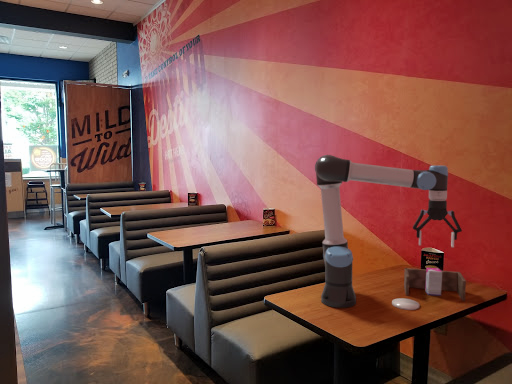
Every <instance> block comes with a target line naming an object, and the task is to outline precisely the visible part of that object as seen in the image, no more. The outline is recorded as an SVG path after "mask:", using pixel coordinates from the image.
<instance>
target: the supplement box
mask: <svg viewBox="0 0 512 384" xmlns="http://www.w3.org/2000/svg"><path fill="white" fill-rule="evenodd" d="M425 270H426V287H425V289H424V290H425V293H426V294H427V296H436V297H438V296H439V297H441V296H442V290H441V285H442V271H443V270H441V269H440V268H437V267H433V268H432V267H426V269H425Z"/></svg>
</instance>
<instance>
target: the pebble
mask: <svg viewBox="0 0 512 384" xmlns="http://www.w3.org/2000/svg"><path fill="white" fill-rule="evenodd" d="M391 305H392V306H393V307H395V308H397V309H400V310H407V311H414V310H418V309H420V303H419V302H418V301H416V300H413V299H410V298H394V299H392V301H391Z"/></svg>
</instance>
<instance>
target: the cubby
mask: <svg viewBox="0 0 512 384" xmlns="http://www.w3.org/2000/svg"><path fill="white" fill-rule="evenodd" d="M441 271H442V285H441V291H451V292H457V294H458V296H459V298H460V300H461V301H464V302H465V301H466V289H467V288H466V285H467V280H466V279H465V278H464V276H463V274H462V273H461V271H448V270H441ZM403 275H404V278H403V279H404V282H403V283H404V285H403V287H404V293H405V296H407V297H408V296H409V294H410V293H409V292H410V291H409V290H410V289H409V288H413V287H414V288H415V289H424V290H425V287H426V269H420V268H408V267H407V268H406V267H404V274H403ZM414 288H413V289H414Z"/></svg>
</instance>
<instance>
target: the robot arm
mask: <svg viewBox="0 0 512 384" xmlns="http://www.w3.org/2000/svg"><path fill="white" fill-rule="evenodd" d="M448 169H449V168H448V166H447V165H430V166H429V168H428V169H425V170H424V169H422V170H421V169H410V168H409V169H408V168H399V167H390V166H383V165H374V164H367V163H357V162H353V161H352V160H350V159H345V158H340V157H337V156H335V155H331V154H326V155H322V156H320V157H319V158H318V159H317V160H316V162H315V164H314V171H315V176H316V178H315V179H316V186H317V187H318V188H320V194H321V197H320V198H321V204H322V205H321V206H322V215H323V216H322V217H323V227H324V237H325V238H324V239H323V240H322V250H323V253H322V257H323V261H324V267H325V268H324V269H325V271H324V273H325V274H324V275H325V276H324V277H325V278H324V279H325V280H324V281H325V283H324V287H323V290H322V292H321V295H320V298H321V299H320V301H321V303H322V304H324V305H325V306H328V307H331V308H338V309H341V308H343V309H346V308H351V307H353V306H355V305H356V304H357V297H356V293H355V290H354V286H353V262H354V261H353V260H354V256H353V252H352V250H351V249H350V248H349V246H348V245H349V244H348V243H349V242H348V240H347V238H345V237H344V235H345V234H344V226H343V225H344V224H343V213H342V202H341V191H340V190H341V189H340V187H341V185H342V184H343V183H348V182H350V181H355V182H361V183H370V184H378V185H379V184H380V185H388V186H394V187H395V186H396V187H402V188H403V187H404V188H410V189H418V190H419V189H420V190H421V191H428V206H427V207H428V208H427V210H425V209H420V213H419V215H418V216H417V219H416V221H415V222H414V224H413V225H412V229H413V230H414V231H416V238H417V239H418V246H422V230H423V228H424V227H425V226H426V225H427V224H428V223H429V222H430V221H444V222H445V223H446V225H447V226H448V227H449V228H450V229H451V230H452V231H451V237H450V241H451V242H450V246H451V248H455V241H457V240H458V234H459V233H461V232H462V231H463V229H462V227H461V226H460V224H459V222H458V220H457V218H456V216H455V211H454V210H448V208H447V207H448V206H447V204H448V200H447V199H448V184H449V183H448V182H449V181H448V180H449V179H448V178H449V170H448ZM426 214H427V215H428V216H427V217H426V218H425V220H424V221H423V222H422V223H420V222H421V221H422V218H423V217H424V216H425V215H426ZM447 215H449V216H450V217H451V219H452V221H453V223H454V224H455V226H453V225H452V224H451V222H450V221H449V220H448V218H447V217H446V216H447ZM419 224H420V225H419ZM455 227H456V228H455Z"/></svg>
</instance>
